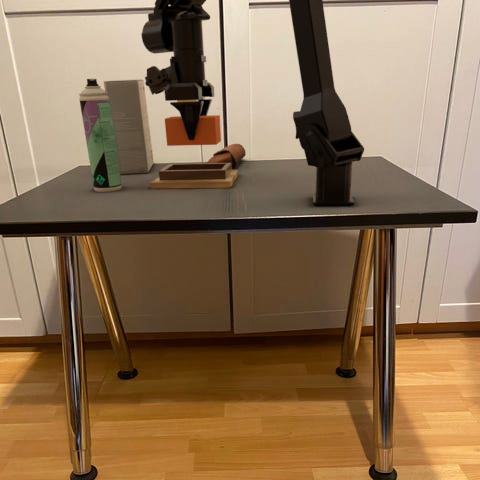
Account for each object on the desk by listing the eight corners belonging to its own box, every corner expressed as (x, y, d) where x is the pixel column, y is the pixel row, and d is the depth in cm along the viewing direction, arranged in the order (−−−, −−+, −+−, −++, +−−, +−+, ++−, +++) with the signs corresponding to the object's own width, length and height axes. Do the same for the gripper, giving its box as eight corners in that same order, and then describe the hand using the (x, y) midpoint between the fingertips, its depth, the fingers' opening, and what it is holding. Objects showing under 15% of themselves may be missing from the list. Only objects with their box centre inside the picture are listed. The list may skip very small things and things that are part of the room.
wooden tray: (230, 187, 94) (229, 171, 93) (151, 188, 96) (149, 173, 95) (238, 175, 107) (238, 161, 105) (168, 176, 109) (167, 162, 107)
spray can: (109, 185, 101) (93, 78, 92) (127, 187, 98) (112, 77, 89) (88, 190, 97) (69, 79, 88) (106, 192, 94) (89, 78, 85)
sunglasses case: (214, 157, 129) (225, 134, 126) (237, 171, 130) (249, 148, 127) (201, 169, 113) (214, 142, 110) (227, 184, 114) (240, 158, 111)
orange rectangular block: (216, 144, 95) (215, 117, 92) (167, 145, 96) (164, 118, 93) (221, 141, 100) (219, 115, 98) (174, 142, 101) (171, 116, 99)
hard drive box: (124, 165, 126) (113, 80, 118) (153, 163, 127) (144, 79, 118) (116, 174, 112) (102, 79, 104) (149, 173, 113) (138, 78, 104)
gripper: (159, 54, 100) (167, 134, 107) (131, 49, 83) (142, 144, 90) (212, 52, 98) (216, 133, 105) (194, 46, 82) (201, 143, 89)
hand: (194, 138), depth 97 cm, fingers closed on orange rectangular block, 6 cm apart
